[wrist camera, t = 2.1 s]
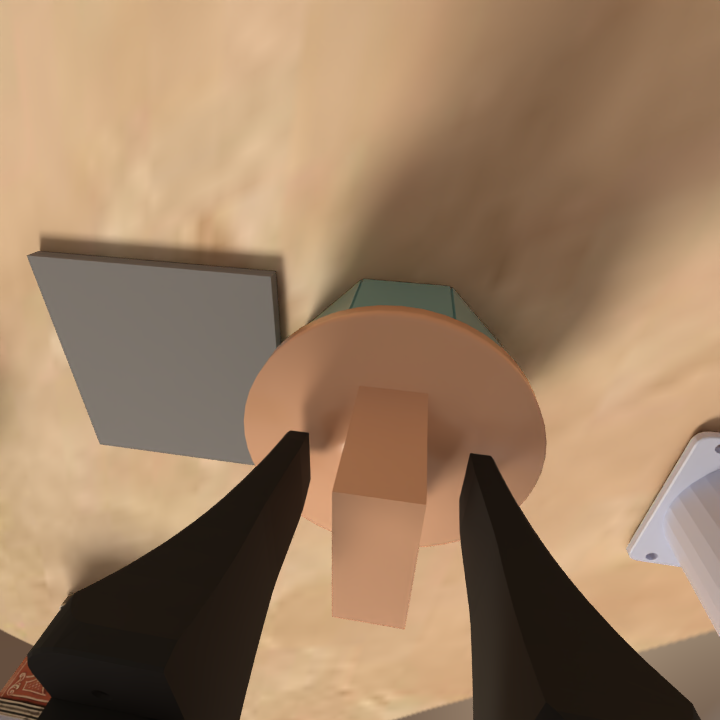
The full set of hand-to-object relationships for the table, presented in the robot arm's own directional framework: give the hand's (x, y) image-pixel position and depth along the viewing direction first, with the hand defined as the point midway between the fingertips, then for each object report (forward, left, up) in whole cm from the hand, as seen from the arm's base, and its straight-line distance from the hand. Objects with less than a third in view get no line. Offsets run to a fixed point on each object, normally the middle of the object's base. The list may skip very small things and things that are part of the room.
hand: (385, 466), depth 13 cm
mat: (+10, +1, -5) cm, 11 cm away
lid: (0, 0, -1) cm, 1 cm away
